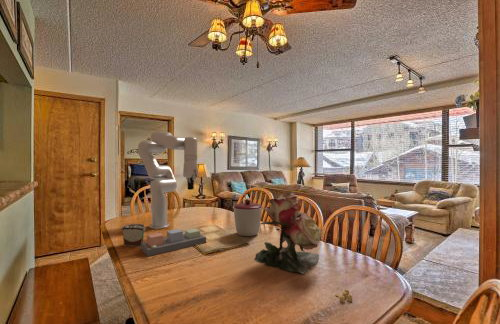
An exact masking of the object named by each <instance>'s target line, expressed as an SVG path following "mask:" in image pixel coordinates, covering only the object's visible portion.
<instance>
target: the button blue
mask: <svg viewBox="0 0 500 324" xmlns="http://www.w3.org/2000/svg"><path fill="white" fill-rule="evenodd" d="M183 234H184V232H183V230H180V229H179V228H177V229H176V228H175V229H171V230H166V238H167V241H168V242H170V243H174V242H178V241H183Z"/></svg>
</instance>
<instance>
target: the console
mask: <svg viewBox="0 0 500 324" xmlns="http://www.w3.org/2000/svg"><path fill="white" fill-rule="evenodd" d="M204 242H206V243H207V236H205V235H203V234H201V233H200V237H197V238H192V239H188V238H187V237H185V233H183V241H178V242H174V243H170V242H168V241H167V237H163V245H160V246H156V245H153V246H151V248H150V247H149V246H148V245H147V241H145V242H144V241H143V243H141V246H140V250H141V251H142V252H143V253H144V254H145V255H146V256H147V257H152V256H156V255H159V254H160V255H161V254H165V253H169V252H173V251H176V250H180V249H186V248H190V247H193V246H197V245H196V244H198V245H201V244H200V243H202V244H205V243H204Z"/></svg>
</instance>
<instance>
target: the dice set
mask: <svg viewBox="0 0 500 324" xmlns="http://www.w3.org/2000/svg"><path fill="white" fill-rule="evenodd" d="M334 297H337V298H338V299H339V301H340V303H343V304H344V303H345V301H346V299H347V301H348V302H353V295H351V294H350V289H344V291H342V294H341V295H340V294H338V293H335V296H334Z"/></svg>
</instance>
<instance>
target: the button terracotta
mask: <svg viewBox="0 0 500 324" xmlns="http://www.w3.org/2000/svg"><path fill="white" fill-rule="evenodd" d="M163 238H164V235H163V234H162V233H161V232H154V233H149V234H146V242H147V245H148V246H149V247H150V248H151V246H153V245H156V246H160V245H163Z"/></svg>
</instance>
